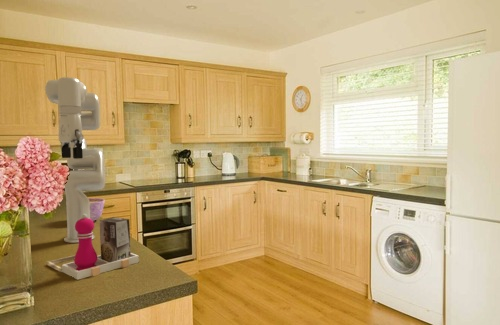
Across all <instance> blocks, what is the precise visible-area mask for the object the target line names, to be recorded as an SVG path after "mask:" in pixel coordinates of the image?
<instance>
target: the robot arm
mask: <svg viewBox="0 0 500 325" xmlns="http://www.w3.org/2000/svg"><path fill="white" fill-rule="evenodd" d="M44 87H45V88H44V91H45V95H46V98H47V99H48V100H49V102H50V103H53V104H56V105H58V116H59V119H58V142H59V143H60V148H61V151H60V152H61V158H62V159H66V164H67V167H68V168H69V169H70V170H69V171H70V175H69V176H68V180H67V183H66V184H65V188H64V192H65V200H66V201H65V206H66V225H67V231H66V232H67V236H66V237H64V238H63V241H64V242H65V243H71V244H74V243H76V244H77V243H78V244H79V239H78V238H77V233H78V232H77V231H76V230H75V224H76V222H77V221H78V220H80V219H82V217H81V216H82V215H83V214H86V215H87V218H89V219H90V203H89V197H88V196H87V195H86V194H85V193H84V192H88V191H90V192H91V191H99V190H104V188H105V187H106V169H105V168H106V166H105V156H104V152H103V151H102V150H101V149H98V148H87V139H86V138H85V137H84V134H83V131H97V130H98V129H99V128H100V127H101V106H100V100H99V96H98V95H97V94H96V93H94V92H88V89H87V86H86V85H85V83H84V82H82V81H80V80H79V79H78V78H76V77H70V76H69V77H60V78H58V79H50V80H48V81H47V82H46V83H45V86H44ZM93 239H95V234H93V236H92V240H93Z"/></svg>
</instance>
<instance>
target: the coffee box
mask: <svg viewBox="0 0 500 325" xmlns="http://www.w3.org/2000/svg"><path fill="white" fill-rule="evenodd" d="M130 228H131V227H130V218H122V217H114V216H113V217H108V218H105V219H104V218H103V219H99V237H100V238H99V240H100V241H99V242H100V255H101V259H102V260H105V261H107V262H114V261H118V260H121V259H125V258H129V257H131V254H130V253H131V230H130Z"/></svg>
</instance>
